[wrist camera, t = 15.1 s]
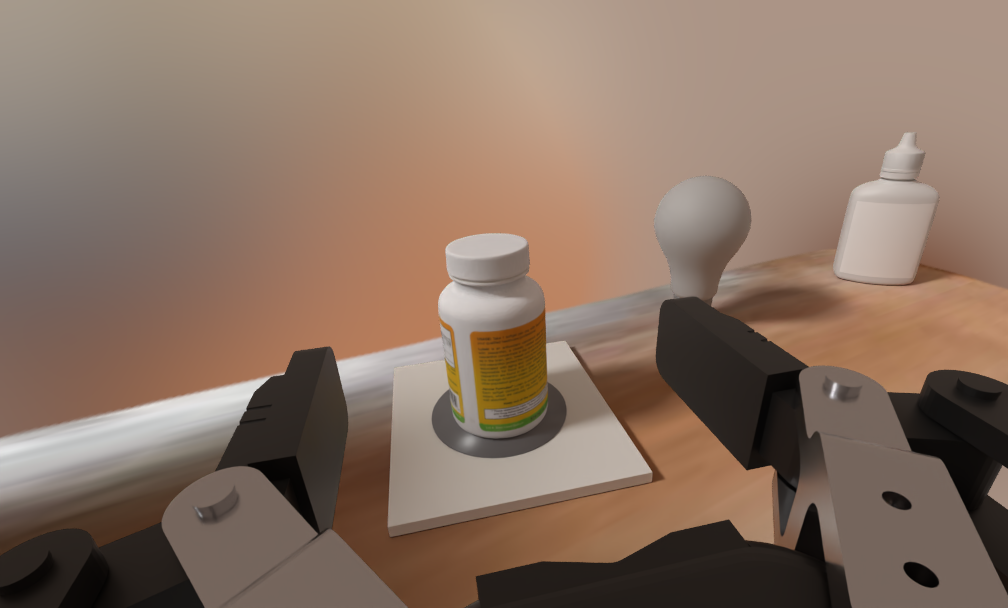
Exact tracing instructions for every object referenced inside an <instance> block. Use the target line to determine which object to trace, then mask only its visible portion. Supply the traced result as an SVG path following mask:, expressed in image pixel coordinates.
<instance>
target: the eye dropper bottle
mask: <svg viewBox="0 0 1008 608" xmlns="http://www.w3.org/2000/svg"><path fill="white" fill-rule="evenodd" d="M916 134H917V133H916V132H906V133H905V134H904V136H903V138H902V140H901V142H900V143H899V145H898V146H897V147H896V148H894V149H891V150H888V151H887V152H886V153H885V157H884V160H883V165H882V168H881V172H880V177H883V178H880V179H879V180H876V181H872V182H867V183H864V184H861V185H859V186H857V187H856V188H855V189H854V190H853V191H852V193H851V195H850V199H849V202H848V206H847V210H846V214H845V218H844V222H843V226H842V231H841V235H840V239H839V243H838V247H837V251H836V256H835V260H834V264H833V270H834V273H835V275H836V276H837V277H839V278H841V279H845V280H850V281H855V282H861V283H869V284H880V285H906V284H910V283H912V282H913V280H914V279H915V276H916V273H917V270H918V267H919V264H920V260H921V257H922V254H923V251H924V248H925V245H926V241H927V238H928V235H929V232H930V229H931V226H932V222H933V219H934V216H935V213H936V209H937V206H938V202H939V194H938V192H937V191H936V190H935V189H934V188H933V187H931V186H929V185H927V184H924V183H921V182H918V181H916V180H915V178H918V177H919V173H920V170H921V166H922V163H923V159H924V156H925V151H923V150H921V149H919V148H918V147H917V146H916Z"/></svg>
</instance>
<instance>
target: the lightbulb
mask: <svg viewBox="0 0 1008 608" xmlns="http://www.w3.org/2000/svg"><path fill="white" fill-rule="evenodd" d="M750 226H751V211H750V207H749V203H748V201H747V199H746V198H745V196H744V194H743V193H742V192H741V191H740V189H739V188H737V187H736V186H735V185H733V184H732V183H731V182H729V181H726V180H724V179H722V178H718V177H713V176H699V177H694V178H690V179H687V180H685V181H683V182H681V183H679V184H678V185H676V186H674V187H673V188H672V189H671V190H670V191H669V192H668V193H667V194H666V195H665V196H664V197H663V199H662V200H661V202H660V204H659V206H658V208H657V211H656V215H655V219H654V228H655V234H656V237H657V239H658V242H659V244H660V247H661V249H662V251H663V253H664V255H665V256H666V258H667V261H668V264H669V267H670V274H671V290H672V292H673V293H674V299H677V298H684V297H691V296H696V297H698V298H700V299H701V300H702V301H704V302H705V303H707V304H708V305H710V306H711V303H712V298H713V296H715V294H716V292H717V289H718V284H719V281H720V278H721V275H722V272H723V270H724V269H725V267H726V265H727V263H728V262H729V261H730V260H731V258H732V257H733V256H734V255H735V253H736V252H737V251H738V250H739V248H740V247H741V245H742V244H743V243H744V241H745V239H746V237H747V235H748V232H749V230H750Z"/></svg>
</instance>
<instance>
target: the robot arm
mask: <svg viewBox="0 0 1008 608" xmlns="http://www.w3.org/2000/svg"><path fill="white" fill-rule="evenodd" d="M656 363H657V367H658V370H659V373H660V375H661V377H662V378H663V379H664V380H665V381H666V383H667V384H668V385H669V386H670V387H671V388H672V389H673V390H674V391H675V392H676V393H677V395H678V396H679V397H680V398H681V399H682V400H683V401H684V402H685V403H686V404H687V406H688V407H689V408H690V409H691V410H692V411H693V412H694V413H695V414H696V415H697V416H698V418H699V419H700V420H701V421H702V422H703V423H704V424H705V425H706V426H707V427H708V428H709V430H710V431H711V432H712V433H713V434H714V435H715V436H716V437H717V438H718V439H719V440H720V442H721V443H722V444H723V445H724V446H725V447H726V448H727V449H728V450H729V451H730V452H731V454H732V455H733V456H734V457H735V458H736V459H737V460H738V461H739V462H740V463H741V464H742V466H743V467H744V468H745V469H746V470H750V469H755V468H760V467H765V466H769V465H771V466H772V467H773V468H774V469H775V472H774V476H773V480H772V497H773V522H774V544H769V543H763V542H756V541H747V540H744V539H743V537H742V536H741V535H740V533H739V532H738V531H737V529H736V528H735V527H734V526H733V524H732V523H731V522H730V520H725V521H720V522H716V523H711V524H707V525H702V526H698V527H694V528H689V529H685V530H680V531H676V532H671V533H669V534H667V535H666V536H664V537H662V538H660V539H658V540H657V541H655V542H653V543H651V544H649V545H648V546H646V547H644V548H642V549H640V550H639V551H637V552H635V553H633V554H631V555H629V556H628V557H626V558H624V559H622V560H620V561H618V562H614V563H585V562H538V563H534V564H529V565H525V566H520V567H516V568H511V569H507V570H502V571H498V572H494V573H489V574H485V575H480V576H476V582H477V590H478V598H479V600H477V601H476V602H474V603H472V604H470V605H468V606H466V607H465V608H1008V510H1007V509H1006V508H1005V507H1003V506H1002V505H1001V504H999V503H998V502H996V501H995V500H994V499H992V498H991V497H990V496H988V495H987V494H988V492H989V490H990V488H991V486H992V484H993V482H994V480H995V478H996V476H997V475H998V473H999V471H1000V469H1001V467H1002V465H1003V466H1005V467H1006V468H1008V385H1007V384H1005V383H1002V382H1000V381H997V380H995V379H992V378H989V377H986V376H982V375H979V374H975V373H970V372H965V371H958V370H938V371H934V372H931V373H929V374H928V375H927V377H926V380H925V383H924V385H923V388H922V390H921V393H920V394H917V393H893V392H886V390H885V389H884V388H883V387H882V386H881V385H880V384H879V383H877V382H876V381H874V380H873V379H871V378H869V377H867V376H865V375H863V374H860V373H858V372H855V371H852V370H848V369H845V368H840V367H834V366H813V367H808V366H807V365H805V364H804V363H802V362H801V361H799V360H798V359H796V358H795V357H793V356H792V355H790V354H789V353H787V352H786V351H784V350H783V349H782V348H780V347H779V346H777V345H776V344H774V343H773V342H771V341H767V338H765V337H764V336H762V335H761V334H759V333H758V332H756V333H755V332H754V330H753V329H752V328H750V327H749V326H747V325H746V324H744V323H743V322H741V321H740V320H738V319H735V318H733V317H730V316H727V315H725V314H722V313H720V312H718V311H717V310H716V309H714V308H713V307H711V306H710V305H708V304H707V303H705V302H704V301H702V300H701V299H700V298H698V297H696V296H691V297H684V298H677V299H670V300H665V301H664V302H663V303H662V305H661V308H660V316H659V326H658V337H657V347H656ZM246 409H247V411H246V412H244V414H243V416H242V418H241V420H240V425H239V426H237V428H236V430H235V432H234V434H233V436H232V438H231V440H230V442H229V444H228V447H227V449H226V451H225V453H224V455H223V457H222V459H221V461H220V463H219V465H218V467H217V469H216V471H215V472H213V473H211V474H208V475H206V476H204V477H202V478H200V479H199V480H197V481H195V482H194V483H192V484H191V485H189V486H188V487H186V488H185V489H184V490H183V491H181V492H180V493H179V494H178V495H177V496H176V497H175V498H174V499H173V500H172V501H171V503H170V504H169V506H168V507H167V509H166V511H165V512H164V515H163V518H162V522H160V523H158V524H156V525H154V526H151V527H149V528H146V529H144V530H141V531H139V532H136V533H134V534H131V535H129V536H126V537H124V538H121V539H119V540H116V541H114V542H111V543H109V544H106V545H104V546H101V547H99V548H98V546H97V545H96V543H95V541H94V540H93V538H92V537H91V535H90V534H89V533H88V532H86V531H84V530H81V529H63V530H57V531H53V532H50V533H46V534H43V535H41V536H38V537H35V538H33V539H31V540H28V541H26V542H24V543H22V544H20V545H18V546H16V547H14V548H13V549H11V550H9V551H8V552H6V553H4V554H3V555H1V556H0V608H408V607H407V606H406V605H405V604H404V603H403V602H402V601H401V600H400V599H399V598H398V597H397V596H396V595H395V594H394V592H393V591H392V590H391V589H390V588H389V587H388V586H387V585H386V584H385V583H384V582H383V581H382V580H381V579H380V578H379V577H378V576H377V575H376V574H375V573H374V572H373V571H372V570H371V569H370V567H369V566H368V565H367V564H366V563H365V562H364V561H363V560H362V559H361V558H360V557H359V556H358V555H357V554H356V553H355V552H354V551H353V550H352V549H351V548H350V547H349V546H348V545H347V544H346V543H345V541H344V540H343V539H342V538H341V537H340V536H339V535H338V534H337V533H335V532H334V531H333V530H332V525H333V519H334V513H335V506H336V500H337V494H338V488H339V482H340V475H341V469H342V463H343V457H344V451H345V444H346V438H347V432H348V413H347V406H346V401H345V397H344V393H343V389H342V385H341V381H340V376H339V372H338V368H337V364H336V360H335V356H334V353H333V350H332V348H331V347H322V348H315V349H308V350H301V351H295V352H294V353H293V355H292V358H291V360H290V363H289V365H288V367H287V370H286V372H285V375H280V376H273V377H271V378H270V379H268V380H267V381H266V382H265V383H264V384H263V385H262V386H261V387H260V388H258V389H257V390H256V391H255V392H254V394H253V396H252V398H251V400H250V402H249V404H248V406H247V408H246Z"/></svg>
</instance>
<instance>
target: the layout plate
mask: <svg viewBox="0 0 1008 608" xmlns="http://www.w3.org/2000/svg"><path fill="white" fill-rule="evenodd" d="M546 354H547V384H548V407H547V411H546V414H545V416H544V418H543V419H542V420H541V422H540V423H539V424H538V425H537V426H535V427H534V428H533V429H531V430H530V431H528V432H526V433H523V434H521V435H518V436H514V437H509V438H499V439H494V438H484V437H479V436H476V435H473V434H471V433H468V432H467V431H465V430H464V429H462V428H461V427H460V426H459V425H458V423H457V422H456V420H455V418H454V416H453V412H452V407H451V400H450V392H449V385H448V378H447V370H446V363H445V360H440V361H434V362H428V363H421V364H415V365H409V366H402V367H396V368H394V385H393V409H392V433H391V457H390V481H389V505H388V531H389V535H390V537H394V536H398V535H403V534H408V533H413V532H417V531H422V530H427V529H432V528H436V527H441V526H446V525H450V524H455V523H460V522H465V521H469V520H474V519H479V518H484V517H488V516H493V515H498V514H503V513H507V512H512V511H517V510H522V509H526V508H531V507H536V506H541V505H545V504H550V503H555V502H559V501H564V500H569V499H574V498H578V497H583V496H588V495H593V494H597V493H602V492H607V491H612V490H616V489H621V488H626V487H631V486H635V485H640V484H645V483H650V482H652V474H653V472H652V471H651V469H650V468H649V466H648V465H647V463H646V462H645V460H644V459H643V457H642V456H641V454H640V453H639V451H638V450H637V448H636V447H635V445H634V443H633V442H632V440H631V439H630V437H629V436H628V434H627V433H626V431H625V430H624V428H623V427H622V425H621V424H620V422H619V421H618V419H617V418H616V416H615V415H614V413H613V412H612V410H611V409H610V407H609V406H608V404H607V403H606V401H605V400H604V398H603V397H602V395H601V394H600V392H599V391H598V389H597V388H596V386H595V385H594V383H593V382H592V380H591V379H590V377H589V376H588V374H587V373H586V371H585V370H584V368H583V367H582V365H581V364H580V362H579V361H578V359H577V358H576V356H575V355H574V353H573V352H572V350H571V349H570V347H569V346H568V344H567V343H566V341H560V342H554V343H547V344H546Z"/></svg>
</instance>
